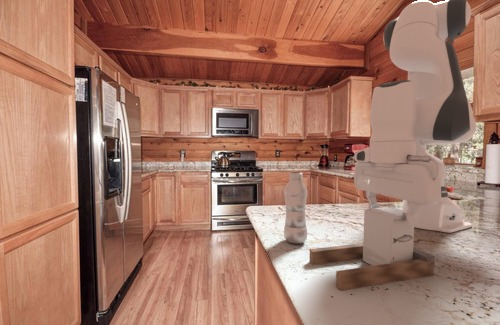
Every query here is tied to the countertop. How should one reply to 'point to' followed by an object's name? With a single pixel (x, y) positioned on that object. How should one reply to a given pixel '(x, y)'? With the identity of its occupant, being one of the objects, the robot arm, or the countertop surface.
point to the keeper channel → (372, 274)
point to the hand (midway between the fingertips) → (390, 215)
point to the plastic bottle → (295, 209)
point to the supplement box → (387, 236)
